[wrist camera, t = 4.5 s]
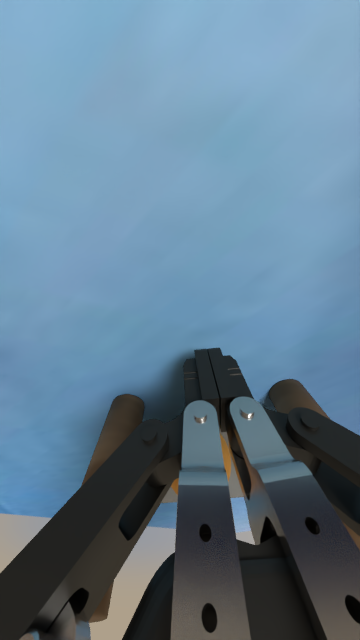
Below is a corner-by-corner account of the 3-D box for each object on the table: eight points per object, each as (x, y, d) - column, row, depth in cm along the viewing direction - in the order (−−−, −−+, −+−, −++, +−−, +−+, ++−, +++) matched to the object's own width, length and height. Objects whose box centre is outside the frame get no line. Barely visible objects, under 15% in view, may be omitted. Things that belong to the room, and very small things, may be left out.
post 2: (305, 377, 14) (488, 586, 6) (299, 401, 15) (444, 603, 7) (271, 380, 14) (403, 590, 6) (267, 404, 15) (373, 606, 7)
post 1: (141, 392, 14) (94, 609, 6) (147, 415, 15) (115, 621, 7) (108, 395, 14) (19, 613, 6) (116, 417, 15) (51, 624, 7)
